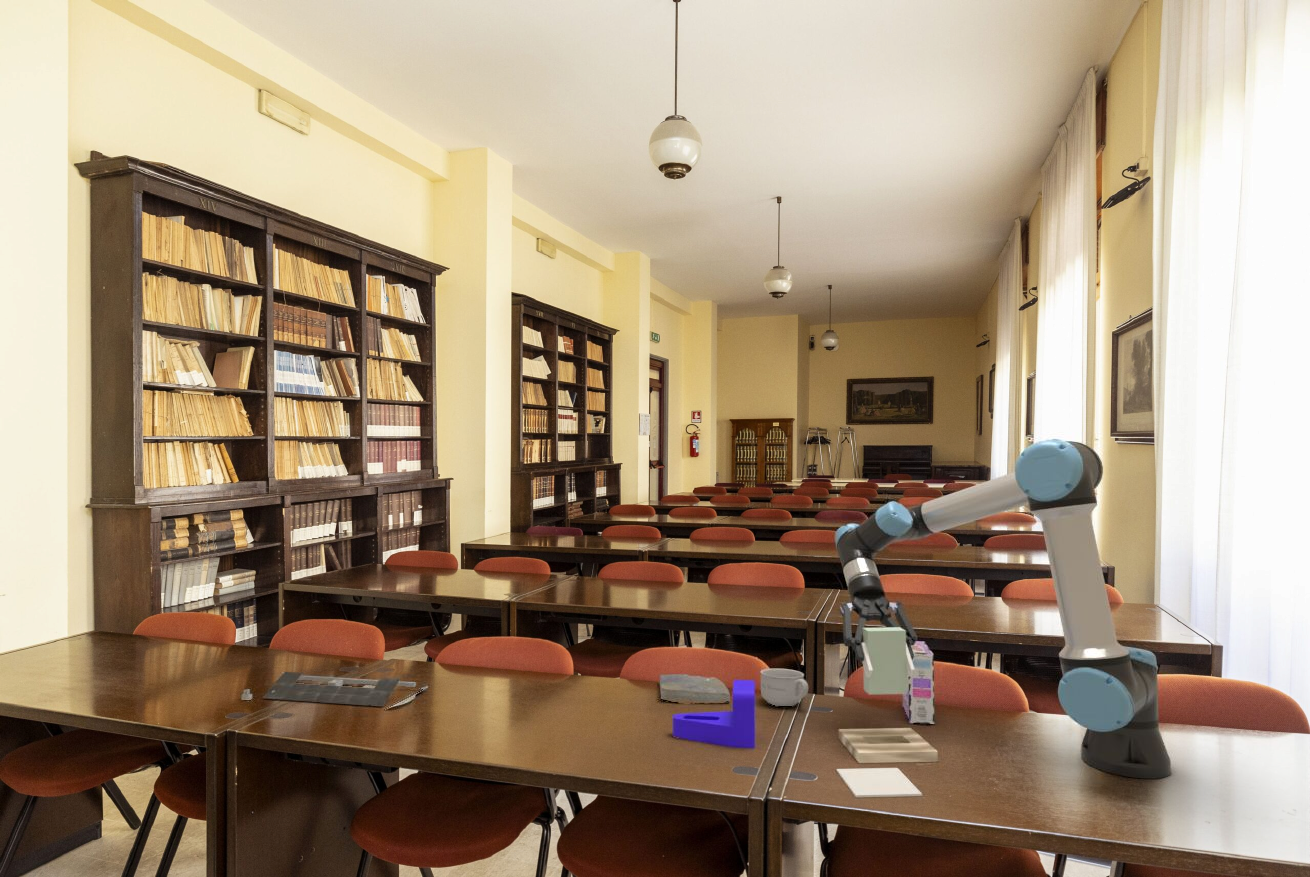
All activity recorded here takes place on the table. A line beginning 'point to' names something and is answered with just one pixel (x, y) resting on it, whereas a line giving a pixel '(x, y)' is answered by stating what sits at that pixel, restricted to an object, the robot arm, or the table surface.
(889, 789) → the white square tile
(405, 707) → the table surface
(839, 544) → the robot arm
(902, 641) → the tall mint prism
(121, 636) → the table surface
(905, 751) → the wooden square base
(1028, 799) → the table surface
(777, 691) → the teacup
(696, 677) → the fossil
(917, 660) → the candy box
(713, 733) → the bracket
